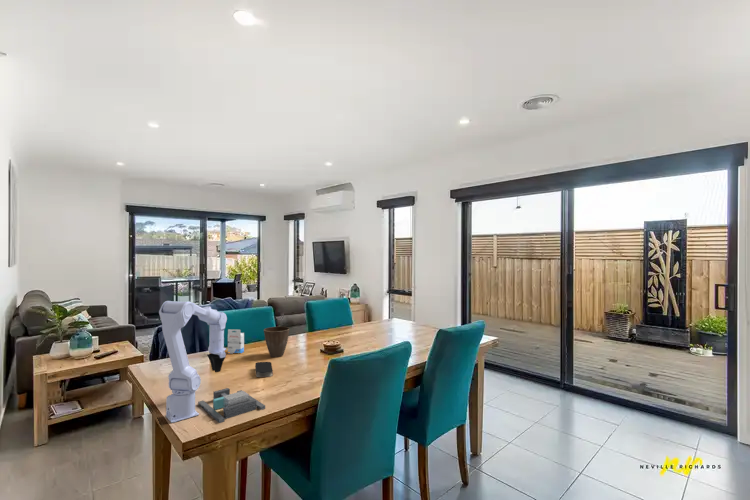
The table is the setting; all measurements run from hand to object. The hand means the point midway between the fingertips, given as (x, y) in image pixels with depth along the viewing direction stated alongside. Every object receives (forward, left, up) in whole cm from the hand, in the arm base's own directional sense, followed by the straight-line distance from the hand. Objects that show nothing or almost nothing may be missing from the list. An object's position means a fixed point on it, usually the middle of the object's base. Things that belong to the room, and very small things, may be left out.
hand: (216, 371), depth 156 cm
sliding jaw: (0, -10, -10) cm, 14 cm away
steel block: (0, -21, -11) cm, 23 cm away
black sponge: (+29, +13, -11) cm, 34 cm away
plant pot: (+49, +36, -11) cm, 62 cm away
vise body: (0, -16, -10) cm, 19 cm away
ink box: (+34, +59, -11) cm, 69 cm away
